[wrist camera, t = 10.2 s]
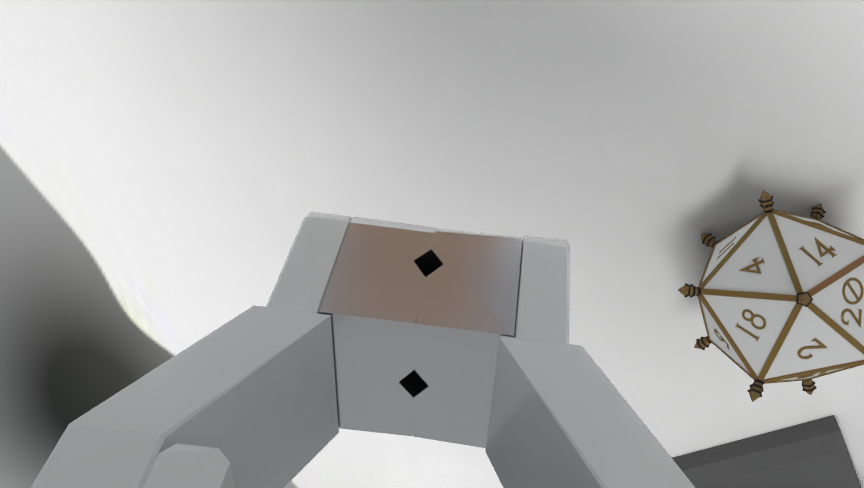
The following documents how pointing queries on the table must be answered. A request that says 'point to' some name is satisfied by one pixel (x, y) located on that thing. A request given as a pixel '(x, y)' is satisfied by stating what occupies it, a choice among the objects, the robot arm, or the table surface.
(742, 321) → the game die
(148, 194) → the table surface
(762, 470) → the faucet
